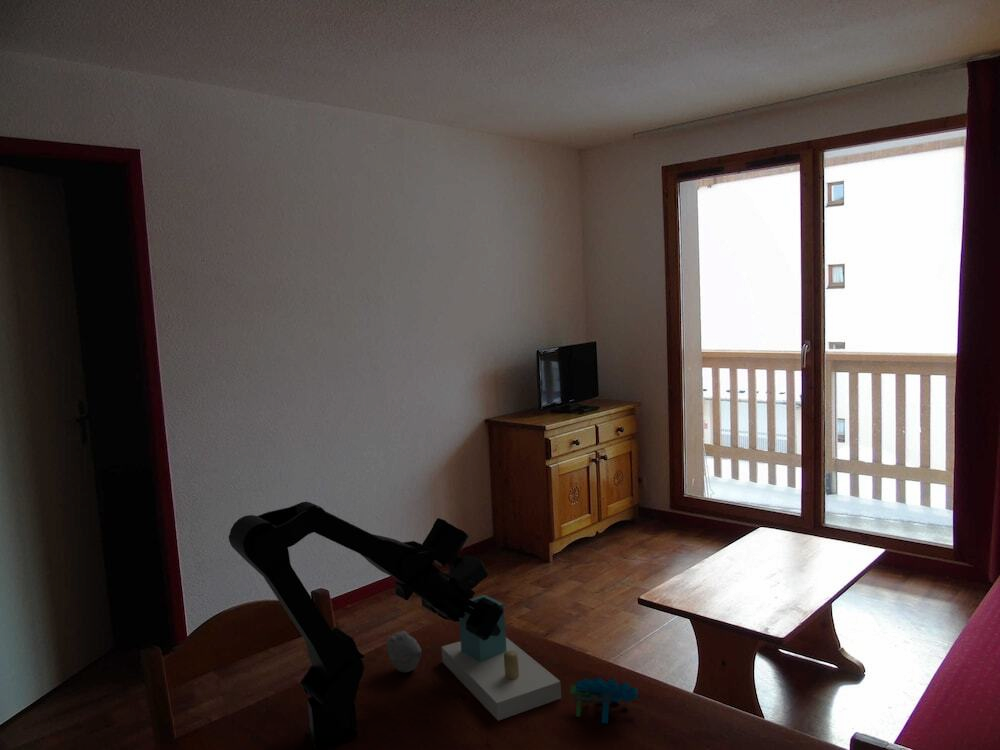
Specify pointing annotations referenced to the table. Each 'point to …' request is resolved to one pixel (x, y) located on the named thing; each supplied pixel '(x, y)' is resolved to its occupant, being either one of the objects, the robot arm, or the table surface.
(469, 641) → the collar
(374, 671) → the table surface
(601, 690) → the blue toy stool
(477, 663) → the board
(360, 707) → the table surface
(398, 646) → the grey rounded lump
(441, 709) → the table surface
